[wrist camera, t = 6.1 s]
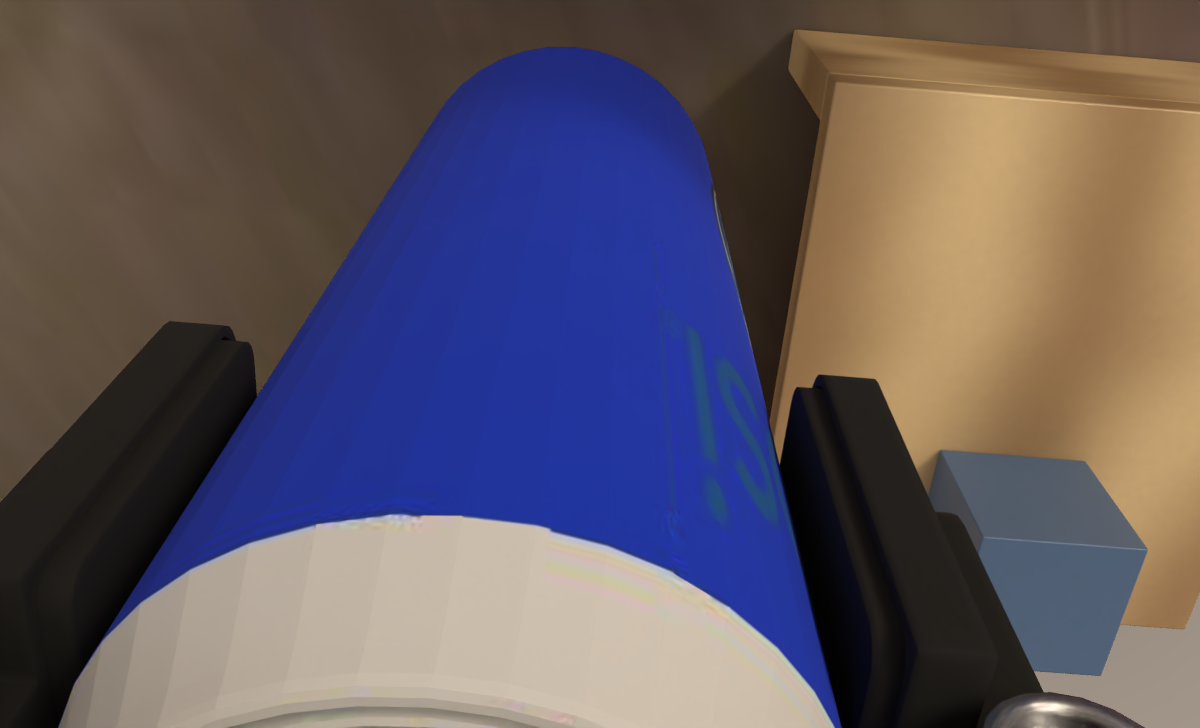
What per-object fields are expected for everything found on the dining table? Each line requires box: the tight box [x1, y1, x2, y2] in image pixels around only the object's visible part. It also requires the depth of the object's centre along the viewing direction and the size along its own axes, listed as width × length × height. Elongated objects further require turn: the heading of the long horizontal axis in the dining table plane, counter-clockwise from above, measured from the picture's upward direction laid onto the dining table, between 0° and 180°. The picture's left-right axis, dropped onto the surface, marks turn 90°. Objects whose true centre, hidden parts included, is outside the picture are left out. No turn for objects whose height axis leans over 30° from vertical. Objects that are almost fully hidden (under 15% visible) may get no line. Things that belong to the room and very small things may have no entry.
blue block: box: [928, 450, 1148, 676], centre depth 28 cm, size 4×4×4 cm
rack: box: [770, 30, 1200, 629], centre depth 31 cm, size 13×15×7 cm
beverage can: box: [58, 47, 842, 728], centre depth 13 cm, size 5×5×15 cm
